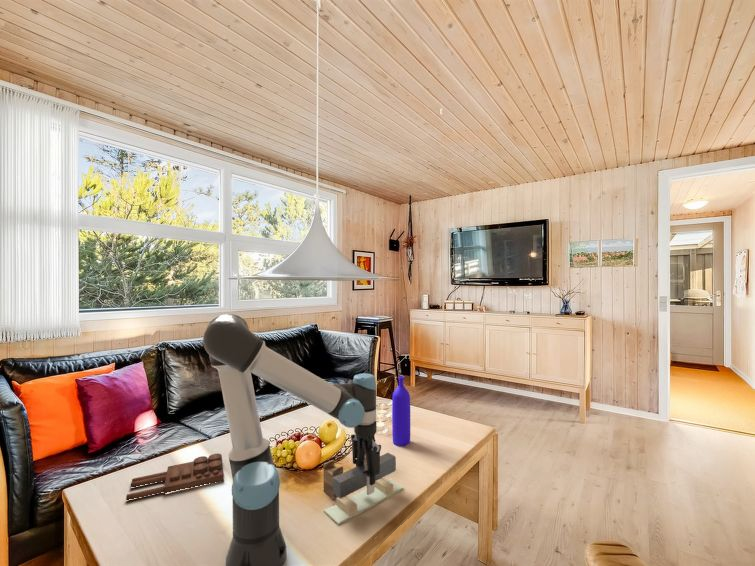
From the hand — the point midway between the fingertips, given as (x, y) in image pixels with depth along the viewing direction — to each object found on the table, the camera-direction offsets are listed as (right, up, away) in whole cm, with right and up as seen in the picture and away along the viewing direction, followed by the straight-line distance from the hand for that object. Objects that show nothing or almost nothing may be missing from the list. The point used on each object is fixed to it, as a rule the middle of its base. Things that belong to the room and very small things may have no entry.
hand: (366, 489), depth 119 cm
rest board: (0, -3, 0) cm, 3 cm away
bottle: (+15, -3, +42) cm, 45 cm away
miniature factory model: (-70, -4, +12) cm, 71 cm away
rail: (0, +3, 0) cm, 3 cm away
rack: (-5, -3, +9) cm, 11 cm away
